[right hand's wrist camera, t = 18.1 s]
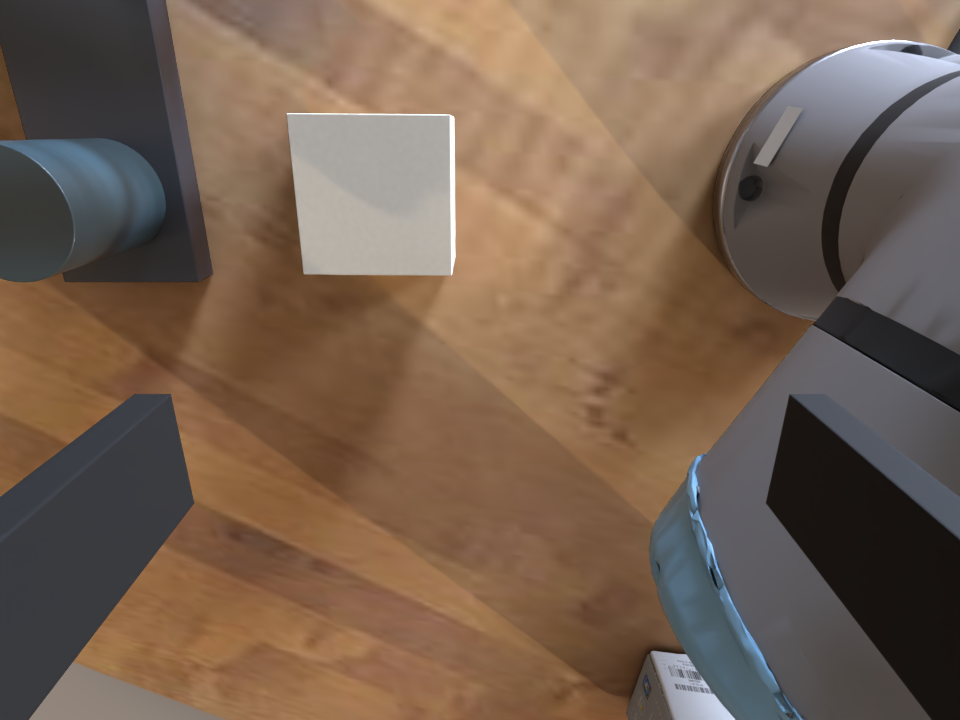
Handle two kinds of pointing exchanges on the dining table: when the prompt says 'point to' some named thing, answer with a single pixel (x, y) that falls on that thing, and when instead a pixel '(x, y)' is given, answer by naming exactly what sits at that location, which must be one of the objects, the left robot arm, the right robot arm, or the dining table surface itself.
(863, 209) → the right robot arm
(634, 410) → the dining table surface
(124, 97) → the stand
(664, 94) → the dining table surface
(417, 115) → the white square block
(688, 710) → the hard drive box
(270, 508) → the dining table surface
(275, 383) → the dining table surface
